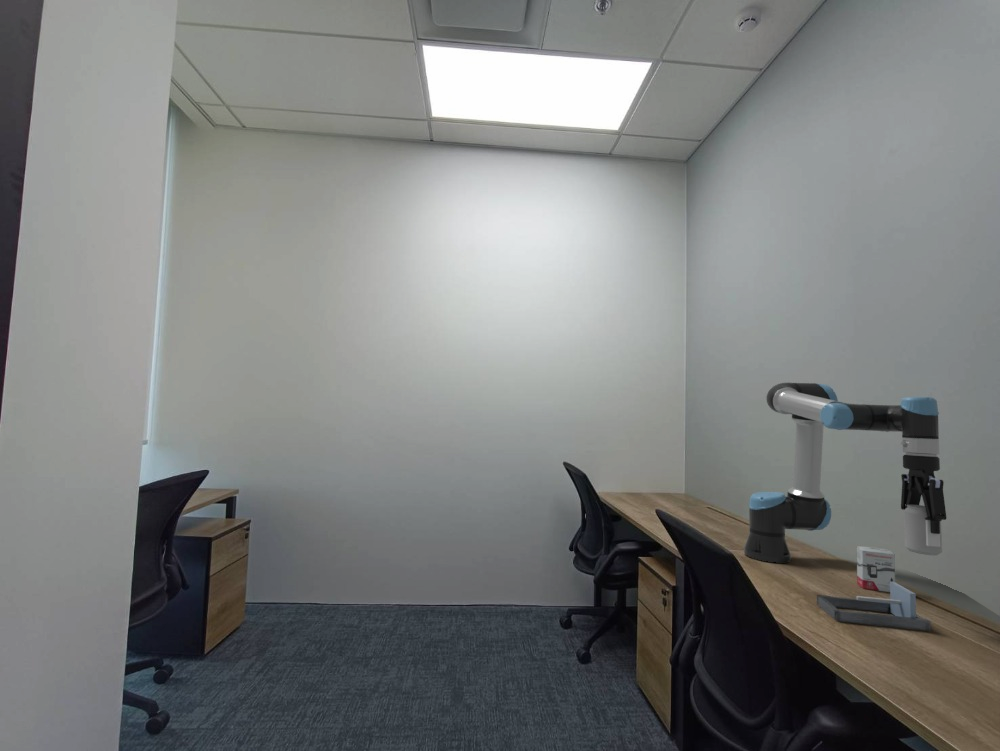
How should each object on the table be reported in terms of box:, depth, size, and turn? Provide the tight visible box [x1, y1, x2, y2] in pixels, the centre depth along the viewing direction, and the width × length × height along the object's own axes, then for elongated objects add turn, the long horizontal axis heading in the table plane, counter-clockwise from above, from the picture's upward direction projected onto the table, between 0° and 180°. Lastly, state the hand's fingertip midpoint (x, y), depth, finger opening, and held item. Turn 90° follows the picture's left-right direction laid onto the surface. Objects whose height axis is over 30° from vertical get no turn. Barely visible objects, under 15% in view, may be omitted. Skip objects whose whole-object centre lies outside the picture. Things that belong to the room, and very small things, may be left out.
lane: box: [816, 594, 932, 632], centre depth 130 cm, size 12×21×2 cm, turn 79°
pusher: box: [855, 581, 917, 618], centre depth 130 cm, size 9×11×8 cm
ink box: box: [856, 545, 896, 593], centre depth 154 cm, size 9×5×12 cm, turn 69°
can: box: [903, 504, 943, 556], centre depth 131 cm, size 8×8×12 cm
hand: (923, 542), depth 131 cm, fingers closed on can, 7 cm apart
